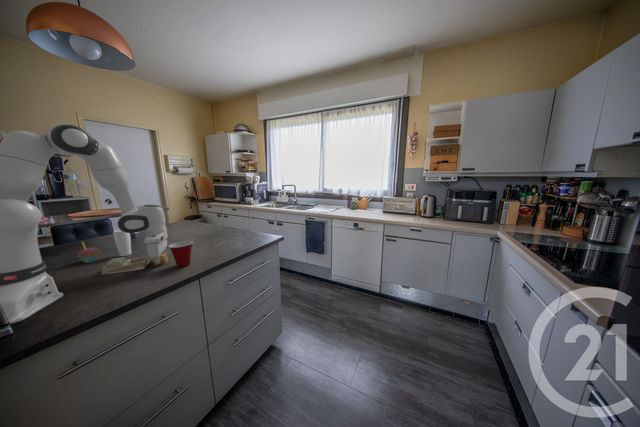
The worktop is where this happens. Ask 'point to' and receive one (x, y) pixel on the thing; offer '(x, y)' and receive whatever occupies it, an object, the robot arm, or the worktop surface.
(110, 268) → the slot board
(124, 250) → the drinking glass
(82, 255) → the cupcake
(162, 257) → the ochre block
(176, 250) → the plastic cup
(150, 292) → the worktop surface
